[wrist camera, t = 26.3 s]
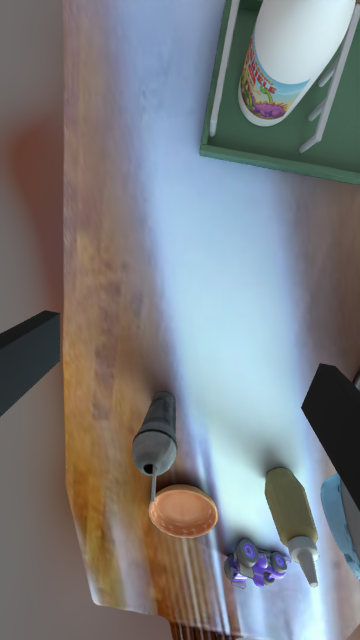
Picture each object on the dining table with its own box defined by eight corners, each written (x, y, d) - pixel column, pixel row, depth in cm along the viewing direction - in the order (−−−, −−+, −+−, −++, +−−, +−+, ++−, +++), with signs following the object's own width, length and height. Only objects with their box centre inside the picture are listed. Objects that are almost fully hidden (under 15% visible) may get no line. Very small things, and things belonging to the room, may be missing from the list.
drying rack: (447, 43, 30) (508, -3, 24) (386, 190, 36) (423, 182, 30) (226, 3, 30) (232, -51, 24) (199, 155, 36) (199, 141, 30)
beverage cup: (145, 385, 50) (111, 479, 31) (181, 385, 49) (170, 481, 31) (148, 415, 52) (119, 519, 34) (183, 415, 52) (173, 521, 33)
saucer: (142, 481, 59) (140, 494, 56) (209, 474, 57) (210, 487, 54) (160, 526, 64) (158, 540, 61) (222, 521, 62) (223, 535, 59)
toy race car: (274, 573, 67) (281, 608, 61) (222, 556, 66) (225, 589, 60) (292, 554, 64) (302, 588, 58) (238, 535, 63) (243, 568, 57)
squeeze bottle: (254, 483, 57) (277, 591, 40) (270, 458, 54) (302, 563, 37) (287, 493, 57) (324, 605, 40) (305, 469, 54) (352, 578, 37)
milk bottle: (275, 35, 30) (398, -277, 12) (311, 93, 32) (469, -98, 13) (224, 91, 32) (258, -97, 14) (260, 142, 34) (334, 37, 15)
